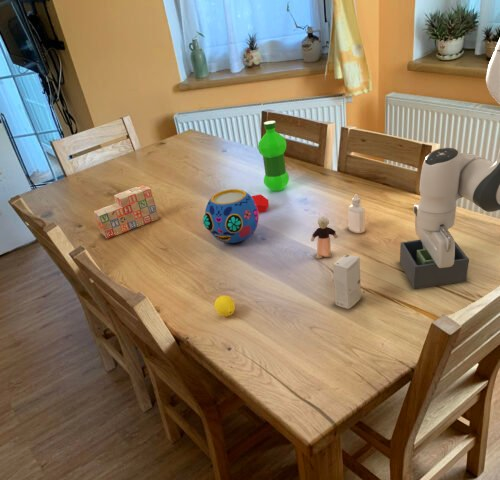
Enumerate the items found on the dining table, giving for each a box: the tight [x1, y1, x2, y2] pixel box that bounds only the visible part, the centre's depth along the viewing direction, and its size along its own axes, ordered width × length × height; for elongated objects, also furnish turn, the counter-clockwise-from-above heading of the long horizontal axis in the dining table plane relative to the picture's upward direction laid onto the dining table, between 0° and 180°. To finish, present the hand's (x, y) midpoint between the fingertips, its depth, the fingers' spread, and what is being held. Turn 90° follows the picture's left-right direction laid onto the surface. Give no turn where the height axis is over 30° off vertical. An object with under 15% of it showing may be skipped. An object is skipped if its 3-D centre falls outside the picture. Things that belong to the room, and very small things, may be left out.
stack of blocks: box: [93, 184, 160, 239], centre depth 183 cm, size 21×6×12 cm, turn 123°
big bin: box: [399, 239, 470, 290], centre depth 132 cm, size 13×13×7 cm
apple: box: [250, 194, 270, 214], centre depth 179 cm, size 7×7×8 cm
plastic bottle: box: [257, 120, 290, 192], centre depth 187 cm, size 10×10×25 cm
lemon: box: [213, 295, 236, 317], centre depth 131 cm, size 7×5×5 cm
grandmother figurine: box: [310, 216, 338, 259], centre depth 145 cm, size 8×4×13 cm, turn 99°
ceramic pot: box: [202, 188, 260, 244], centre depth 162 cm, size 18×18×15 cm
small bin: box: [416, 249, 435, 265], centre depth 132 cm, size 6×6×5 cm
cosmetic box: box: [332, 253, 362, 310], centre depth 125 cm, size 6×4×12 cm
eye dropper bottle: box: [347, 193, 366, 234], centre depth 154 cm, size 4×6×12 cm
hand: (431, 264), depth 132 cm, fingers closed on small bin, 6 cm apart
